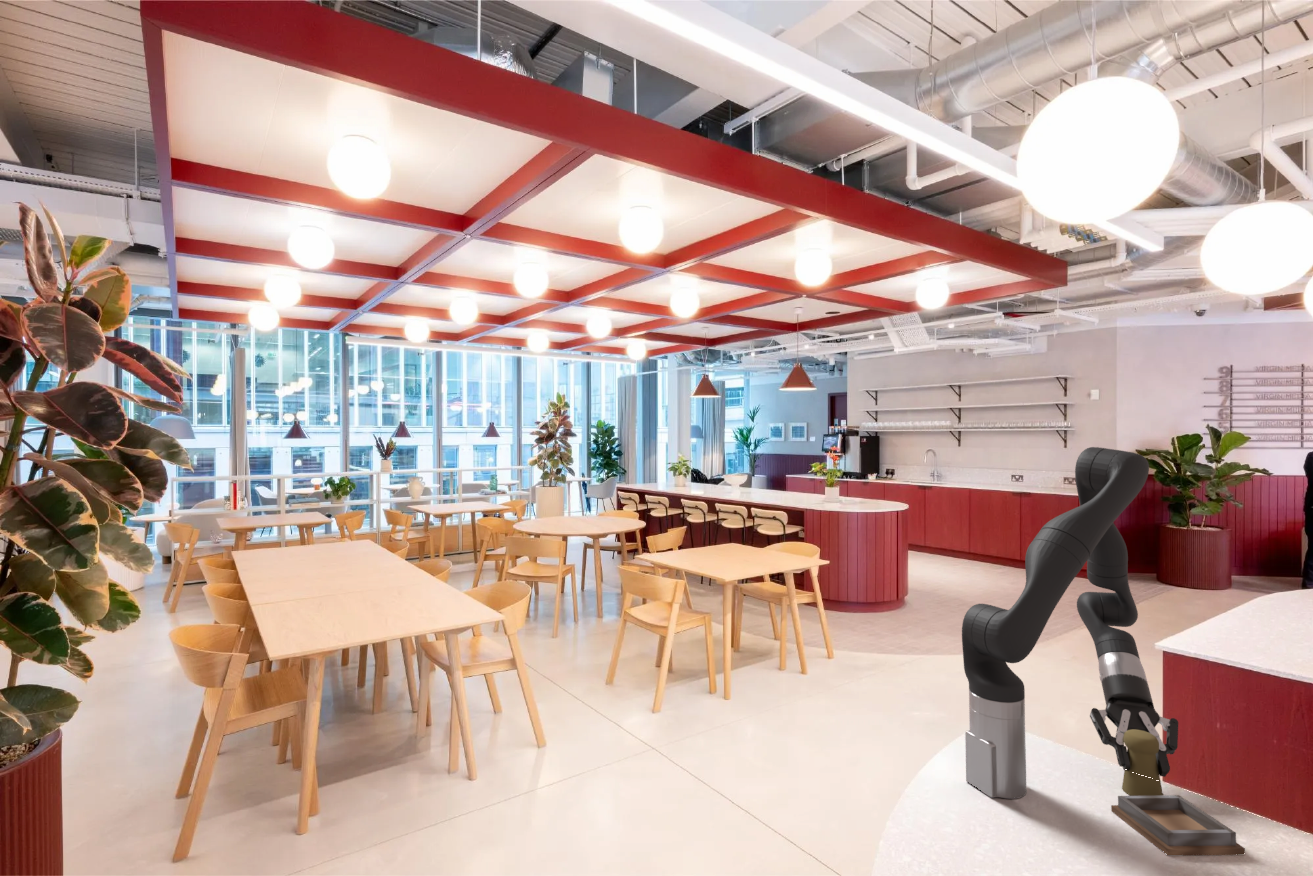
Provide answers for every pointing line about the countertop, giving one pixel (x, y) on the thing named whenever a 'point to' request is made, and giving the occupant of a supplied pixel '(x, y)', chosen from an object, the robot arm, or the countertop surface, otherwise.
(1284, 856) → the countertop surface
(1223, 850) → the plate
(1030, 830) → the countertop surface
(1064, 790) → the countertop surface
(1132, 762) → the cork
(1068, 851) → the countertop surface
